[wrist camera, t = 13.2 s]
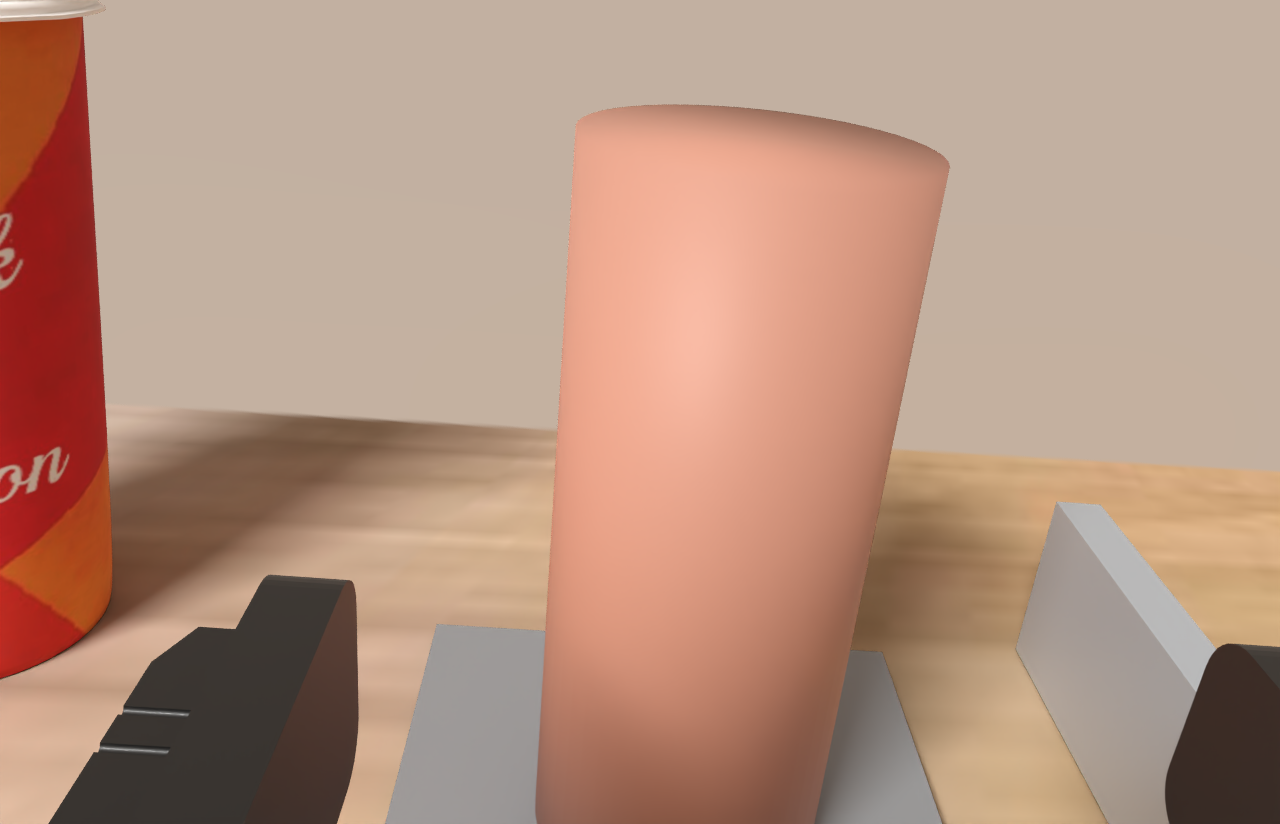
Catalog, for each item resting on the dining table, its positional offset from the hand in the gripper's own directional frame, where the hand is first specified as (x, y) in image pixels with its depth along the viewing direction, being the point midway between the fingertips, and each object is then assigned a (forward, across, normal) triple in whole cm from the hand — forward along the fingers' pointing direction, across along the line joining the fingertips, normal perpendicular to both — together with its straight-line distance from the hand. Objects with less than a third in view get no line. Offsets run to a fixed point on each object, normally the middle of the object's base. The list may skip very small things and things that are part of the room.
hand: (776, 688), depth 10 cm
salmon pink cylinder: (+7, 0, +8) cm, 11 cm away
